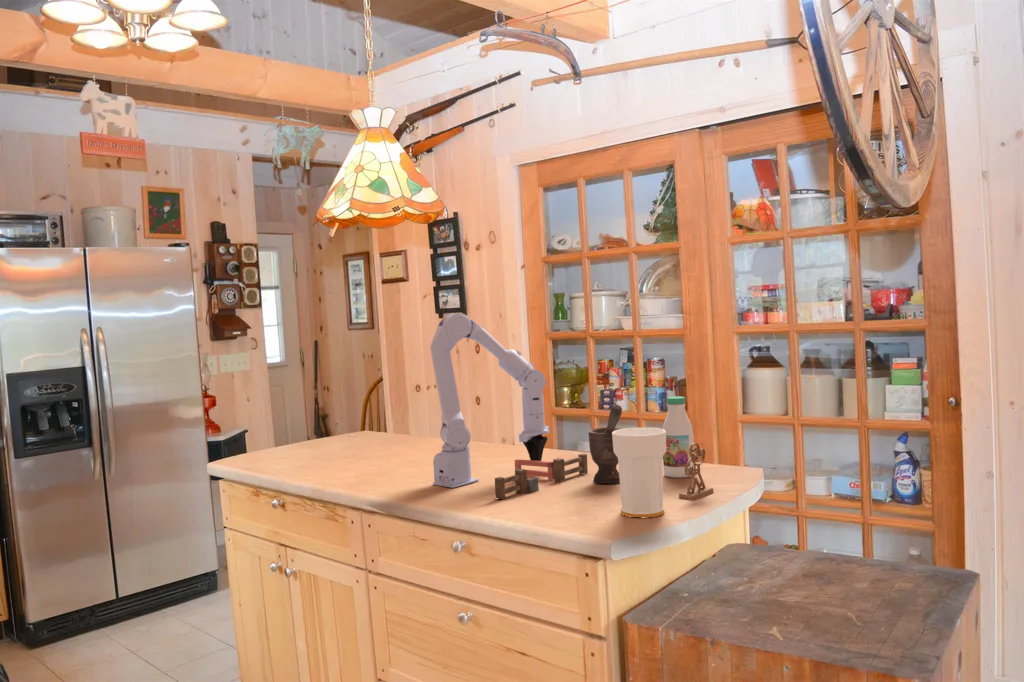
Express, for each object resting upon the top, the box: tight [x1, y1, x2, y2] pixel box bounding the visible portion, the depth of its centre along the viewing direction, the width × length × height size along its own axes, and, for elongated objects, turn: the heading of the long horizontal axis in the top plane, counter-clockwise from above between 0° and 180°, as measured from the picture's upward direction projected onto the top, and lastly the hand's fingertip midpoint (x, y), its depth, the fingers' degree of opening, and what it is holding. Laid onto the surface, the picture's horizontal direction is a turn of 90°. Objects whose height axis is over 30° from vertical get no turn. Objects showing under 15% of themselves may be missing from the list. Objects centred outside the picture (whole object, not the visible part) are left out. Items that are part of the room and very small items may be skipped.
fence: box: [494, 453, 589, 500], centre depth 200 cm, size 34×3×6 cm, turn 137°
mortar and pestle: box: [588, 404, 623, 485], centre depth 199 cm, size 12×9×20 cm
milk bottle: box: [662, 396, 695, 479], centre depth 203 cm, size 8×8×20 cm
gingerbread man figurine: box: [678, 442, 714, 501], centre depth 182 cm, size 9×4×12 cm, turn 136°
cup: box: [612, 426, 666, 518], centre depth 170 cm, size 11×11×17 cm
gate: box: [514, 459, 554, 481], centre depth 209 cm, size 11×1×4 cm, turn 57°
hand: (536, 464), depth 214 cm, fingers closed
